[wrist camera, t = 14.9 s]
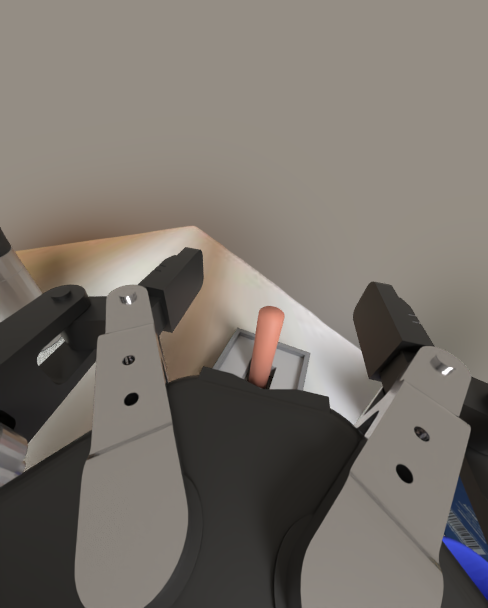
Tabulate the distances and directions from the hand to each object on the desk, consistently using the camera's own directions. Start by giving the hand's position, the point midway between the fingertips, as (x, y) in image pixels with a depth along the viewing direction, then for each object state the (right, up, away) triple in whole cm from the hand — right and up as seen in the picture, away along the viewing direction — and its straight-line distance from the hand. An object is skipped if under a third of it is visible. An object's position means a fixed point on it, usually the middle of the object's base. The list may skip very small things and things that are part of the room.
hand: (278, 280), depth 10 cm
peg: (+1, -15, +26) cm, 30 cm away
